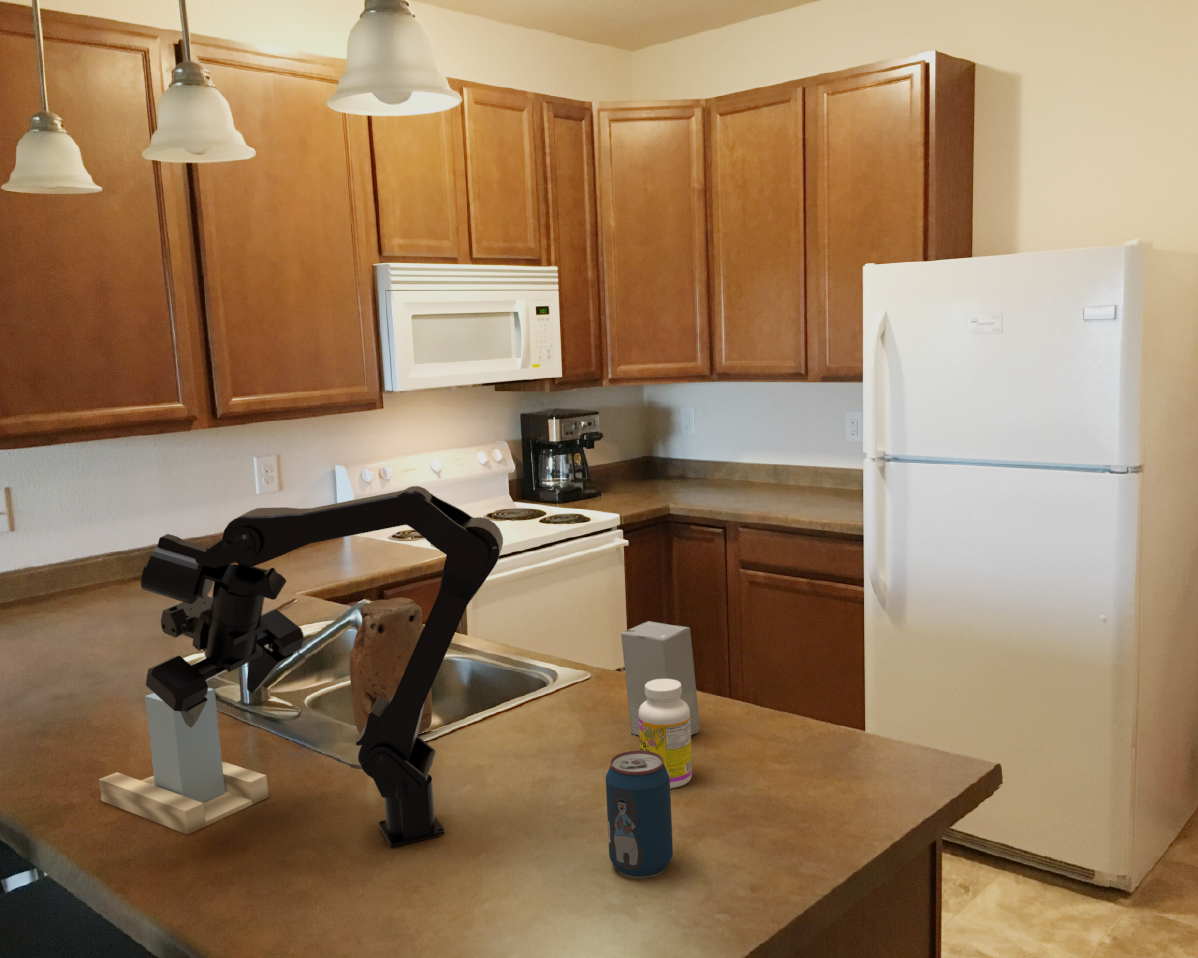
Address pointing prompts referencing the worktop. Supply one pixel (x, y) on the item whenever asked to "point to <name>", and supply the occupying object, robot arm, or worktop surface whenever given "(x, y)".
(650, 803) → the soda can
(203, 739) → the grey rectangular block
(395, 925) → the worktop surface
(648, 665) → the skincare box
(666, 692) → the supplement bottle
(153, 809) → the chute
